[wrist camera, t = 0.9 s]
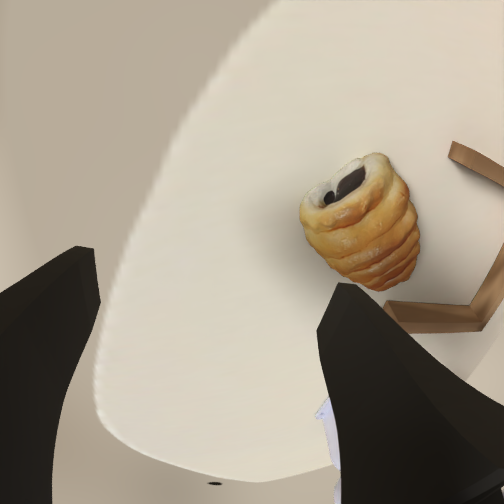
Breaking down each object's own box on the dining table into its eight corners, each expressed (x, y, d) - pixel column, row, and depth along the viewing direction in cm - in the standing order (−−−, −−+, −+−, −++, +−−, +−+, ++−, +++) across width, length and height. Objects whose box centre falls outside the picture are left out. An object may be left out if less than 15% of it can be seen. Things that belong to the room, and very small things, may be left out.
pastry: (425, 244, 20) (451, 274, 16) (353, 294, 22) (369, 330, 19) (371, 139, 16) (402, 156, 12) (281, 204, 18) (291, 236, 14)
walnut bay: (470, 314, 24) (481, 331, 22) (380, 311, 23) (391, 333, 20) (532, 188, 17) (550, 200, 15) (452, 140, 15) (476, 151, 13)
